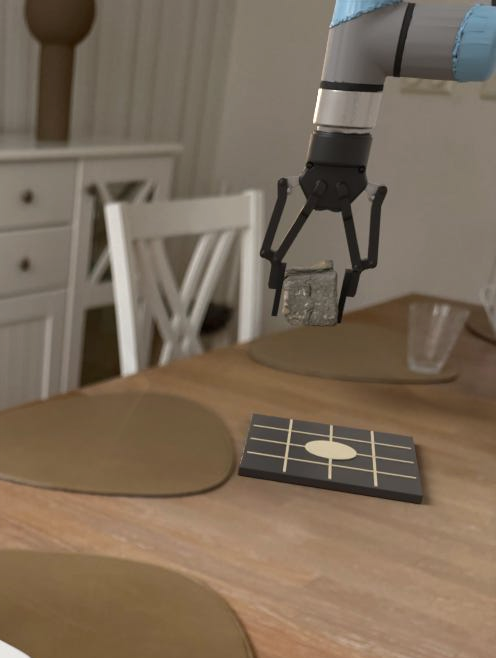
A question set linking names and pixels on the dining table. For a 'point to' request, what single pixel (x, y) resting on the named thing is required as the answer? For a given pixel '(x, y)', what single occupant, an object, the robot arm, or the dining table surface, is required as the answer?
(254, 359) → the dining table surface
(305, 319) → the rock
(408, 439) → the board
